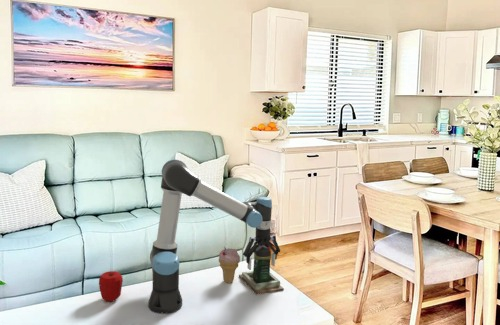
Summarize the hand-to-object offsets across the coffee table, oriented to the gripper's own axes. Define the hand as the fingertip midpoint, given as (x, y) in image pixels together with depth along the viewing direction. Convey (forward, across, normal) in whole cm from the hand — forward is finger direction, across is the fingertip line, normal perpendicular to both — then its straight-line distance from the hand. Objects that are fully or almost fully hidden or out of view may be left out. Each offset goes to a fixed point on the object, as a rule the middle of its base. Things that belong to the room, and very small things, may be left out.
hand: (261, 267), depth 219 cm
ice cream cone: (+9, -15, +7) cm, 19 cm away
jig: (+9, 0, 0) cm, 9 cm away
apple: (+9, -73, +8) cm, 74 cm away
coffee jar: (+8, 0, 0) cm, 8 cm away
